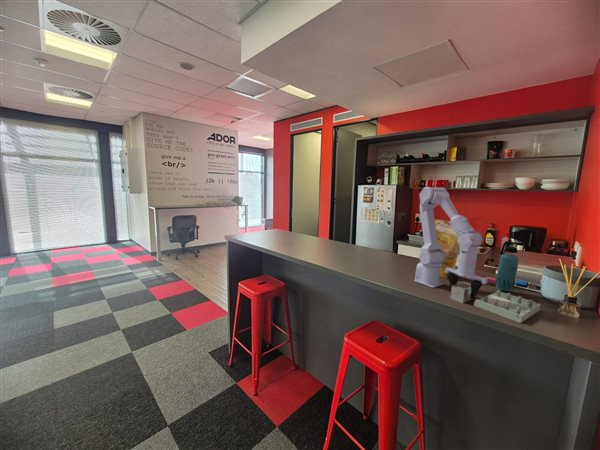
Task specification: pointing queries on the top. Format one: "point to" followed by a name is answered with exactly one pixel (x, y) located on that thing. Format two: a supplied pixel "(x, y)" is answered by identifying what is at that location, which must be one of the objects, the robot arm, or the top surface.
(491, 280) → the smartphone
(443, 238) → the pancake mix bag
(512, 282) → the beverage bottle
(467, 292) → the block
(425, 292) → the top surface
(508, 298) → the tray
